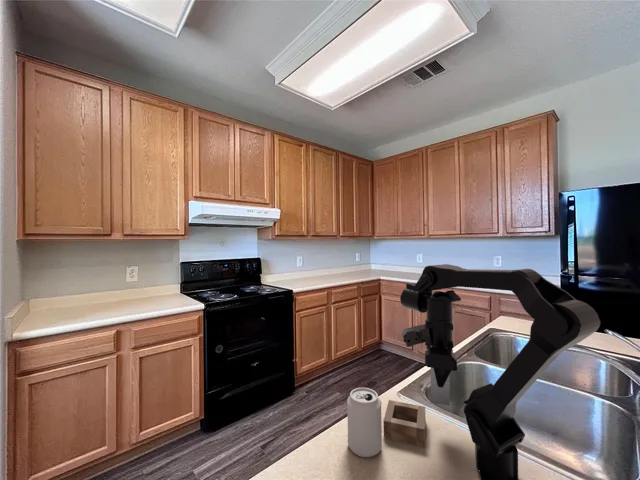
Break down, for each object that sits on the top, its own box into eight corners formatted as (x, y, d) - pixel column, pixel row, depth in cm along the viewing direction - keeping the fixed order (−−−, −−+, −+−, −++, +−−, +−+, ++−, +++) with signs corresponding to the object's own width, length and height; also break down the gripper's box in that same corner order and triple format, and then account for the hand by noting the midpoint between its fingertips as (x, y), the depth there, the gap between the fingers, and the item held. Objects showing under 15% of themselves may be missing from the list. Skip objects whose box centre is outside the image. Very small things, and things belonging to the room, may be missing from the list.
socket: (425, 422, 71) (425, 406, 71) (424, 447, 63) (424, 429, 63) (389, 414, 75) (388, 399, 75) (383, 437, 66) (383, 420, 66)
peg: (448, 396, 69) (448, 355, 69) (449, 405, 65) (449, 362, 65) (431, 393, 70) (430, 353, 70) (431, 402, 67) (430, 359, 67)
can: (382, 462, 59) (381, 405, 59) (346, 457, 61) (345, 401, 60) (381, 437, 66) (380, 386, 66) (349, 433, 68) (348, 383, 68)
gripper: (407, 305, 79) (407, 361, 79) (400, 325, 62) (401, 396, 62) (451, 308, 75) (451, 367, 75) (456, 331, 58) (457, 407, 58)
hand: (440, 382), depth 68 cm, fingers closed on peg, 4 cm apart
